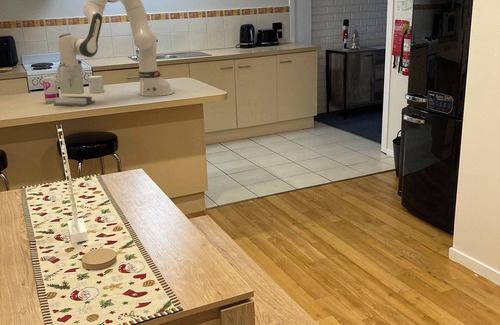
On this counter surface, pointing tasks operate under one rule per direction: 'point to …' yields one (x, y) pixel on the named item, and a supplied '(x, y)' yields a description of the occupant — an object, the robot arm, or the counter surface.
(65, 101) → the bottom track
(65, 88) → the door panel
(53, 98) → the supplement can
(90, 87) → the small box
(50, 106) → the counter surface
